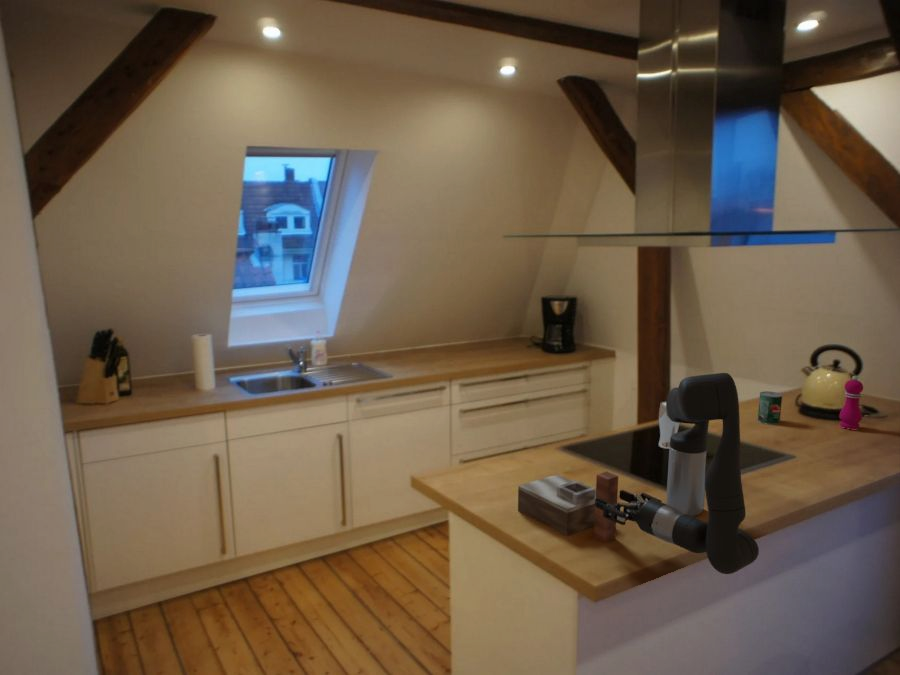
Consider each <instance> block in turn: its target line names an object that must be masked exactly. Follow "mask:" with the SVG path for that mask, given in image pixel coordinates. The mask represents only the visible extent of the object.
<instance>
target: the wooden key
mask: <svg viewBox="0 0 900 675" xmlns="http://www.w3.org/2000/svg"><path fill="white" fill-rule="evenodd" d="M595 489H596V490H595V491H596V498H600V499H602V500H605V501H607V502H609V503H614V504H617V503H618V494H619V475H616V474H614V473H611V472H609V471H604V472H601V473H598V474H596V484H595ZM612 508H614V507H612ZM614 509H616V510H617V508H614ZM593 527H594V529H593V538H595V539H597V540H599V541H602V542H603V543H609V542H610V541H612V540H616V533H617V531H616V530H617V523H616V522H614V521H612V520H609V519H607V518H604V517H603V510H601V509H599V508H597V507H596V506H595V525H594V526H593Z"/></svg>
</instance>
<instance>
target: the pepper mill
mask: <svg viewBox="0 0 900 675" xmlns="http://www.w3.org/2000/svg"><path fill="white" fill-rule="evenodd" d="M844 390H845V392H844V393H845V403H844V405H843V407H842V409H840V412H839V420H841V421H840V423H839V427H840V426H841V427H844V428H850V429H858V428H859V429H860V424H859V423H860V422H861V421H862V419H863V418H862V417H863V416H862V412H861V408H860V405H859V402H860V398H861V395H862V394H861V393H862V392H863V390H864V385H863V383H862V382H861V381H860V380H858V377H857V376H856V375H853V376H852V378H851V379H850V380H849V379H848V380H847V381H846V382H845V383H844ZM841 427H840V428H841Z"/></svg>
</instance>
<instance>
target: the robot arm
mask: <svg viewBox="0 0 900 675" xmlns="http://www.w3.org/2000/svg"><path fill="white" fill-rule="evenodd" d="M678 384H679V385H678V387H673V388H672V389H671V390H670V391H669V392H668V395H667V397H666V401H665V402H666V410H667V414H668V417H669V418H670V420H672V421H673V422H677V423H679V424H691V425H693V426H692V427H690V428H688V429H686V430H683V431H679V432H678V431H677V433H675V434H673V435H672V436H671V438H670V448H669V449H668V450H669V452H668V465H667V466H668V469H667V480H666V481H667V483H666V499H665V500H666V502H665V503H664V502H663V501H662V500H661V499H658V498H657V497H653V496H652V495H650V494H647V493H646V492H642V493H640V494H638V493H631V492H629V491H627V490H624V489H621V490H619V499H620V500H622V501H624V502H620V501H617V504H614V503H609V502H607V501H605V500H602V499H600V498H596V499H595V506H596V507H597V508H599V509H601V510H603V517H604V518H607V519H609V520H612V521H614V522H616V524H618V525H621V526H626V523H627V521H630V522H635V523H636V524H637V526H638V528H639V529H640V530H641V531H642V532H644V533H646V534H648V535H651V536H653V537H655V538H657V539H660V540H661V541H664V542H666V543H669V544H672V545H676V546H678V547H680V548H682V549H684V550H687V551H689V552H691V553H694V554H704V553H706V556H707V559H708V561H709V563H710V565H711V566H712V567H713V568H714V570H716V571H717V572H718V573H721V574H723V575H733V574H734V573H736V572H739V571H740V570H742V569H743V568H746V567H748V566H749V565H751V564H752V563H754V562H755V561H756V560H757V559H758V556H759V551H760V550H759V546H758V543H757V541H756V540H755V538H754V537H753V536H752V535H751V534H749V533H748V532H747V531H745V530H743V529H740V528H739V526H740V525H741V524H742V523H743V521H744V520H745V519H746V505H745V498H744V497H745V496H744V490H743V485H742V474H741V430H740V429H741V428H740V427H741V424H740V423H741V422H740V420H741V419H740V403H739V400H740V399H739V394H738V389H737V386H736V383H735V380H734V378H733V377H732V375H731V374H730V373H728V372H718V373H711V374H710V373H709V374H700V375H692V376H688V377H685V378H683V379H682V380H680V382H679V383H678ZM716 420H717V421H718V420H722V433H721V438H720V441H719V445H718V446H717V449H716V451H715V453H714V456H712V459H711V461H710V463H709V465H708V467H707V471H706V460H707V446H708V433H709V432H708V431H709V424H710V421H716ZM705 498H706V504H707V511H708V517H707V518H708V519H707V521H704V520H703V519H701V518H697V517H696V516H699V515H701V514H702V512H703V510H704V508H705ZM612 507H614V508H617V510H616V509H614V508H612ZM621 508H623V510H621Z"/></svg>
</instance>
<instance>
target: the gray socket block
mask: <svg viewBox="0 0 900 675" xmlns="http://www.w3.org/2000/svg"><path fill="white" fill-rule="evenodd" d="M517 489H518V491H517V492H518V494H517V496H518V497H517V511H518V512H520V513H522V514H524V515H526V516H527V517H529V518H531V519H534V520H535V521H537V522H538V523H541V524H543V525H544V526H546V527H548V528H551V529H552V530H554V531H556V532H558V533H560V534H562V535H564V536H565V537H567V536H570V535H573V534H576V533H579V532H582V531H584V530H587V529H589V528H592V527H594V525H595V499H596V488H594V487H592V486H589V485H588V484H587V485H586V484H584V483H583V482H580V481H577V480H574V481H573V480H571V479H568V478H566V477H563V476H562V475H559V474H554V475H551V476H547V477H543V478H540V479H536V480H532V481H530V482H527V483H526V482H525V483H523V484H520V485H518V488H517Z"/></svg>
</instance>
